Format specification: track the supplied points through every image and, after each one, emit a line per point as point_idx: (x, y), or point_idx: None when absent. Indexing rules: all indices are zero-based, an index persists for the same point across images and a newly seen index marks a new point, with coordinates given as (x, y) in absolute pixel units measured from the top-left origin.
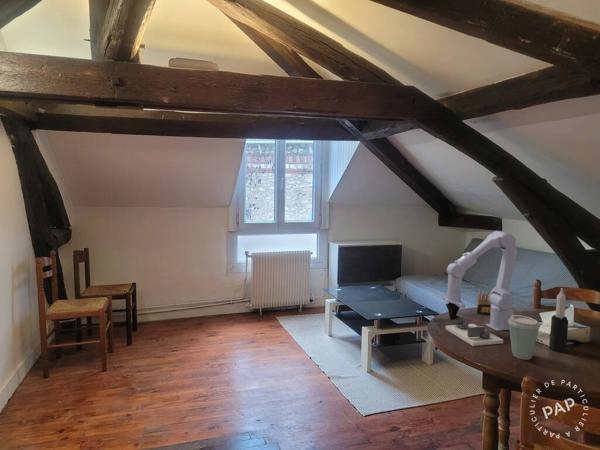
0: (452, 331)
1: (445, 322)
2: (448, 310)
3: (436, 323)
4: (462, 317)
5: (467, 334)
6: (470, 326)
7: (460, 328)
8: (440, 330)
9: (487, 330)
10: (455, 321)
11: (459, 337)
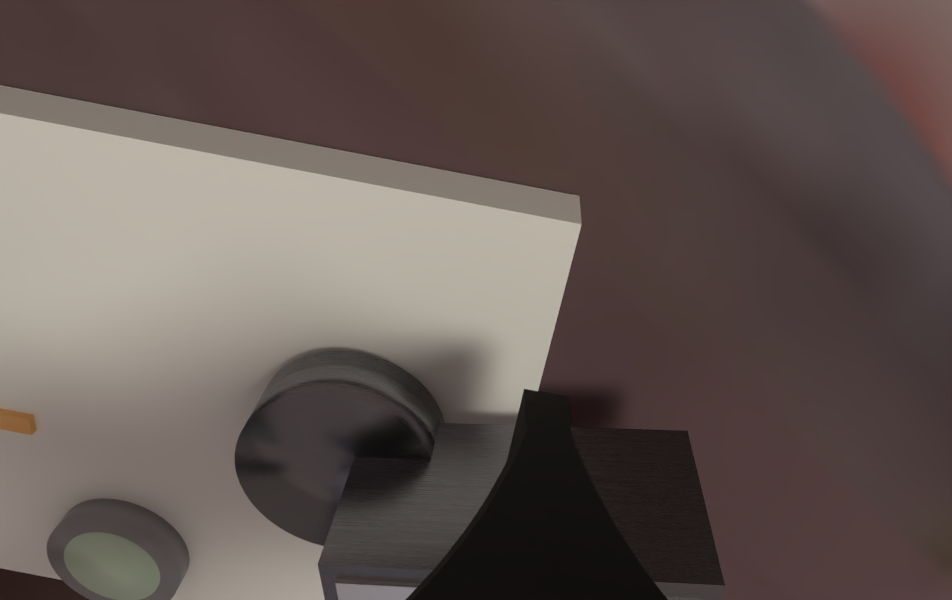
0: (318, 159)
1: (854, 440)
2: (616, 555)
3: (932, 261)
4: (323, 583)
5: (16, 251)
6: None
7: None
8: (559, 28)
9: (88, 594)
10: None
11: (86, 103)
